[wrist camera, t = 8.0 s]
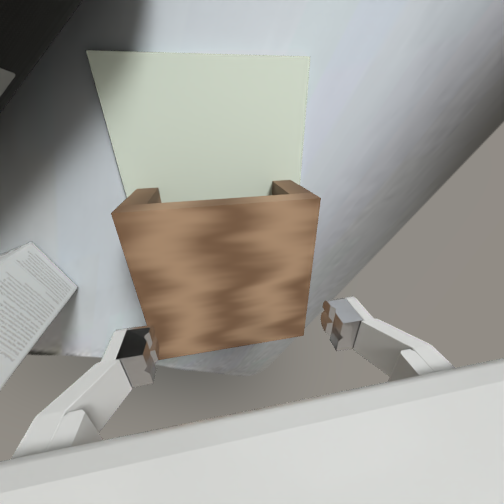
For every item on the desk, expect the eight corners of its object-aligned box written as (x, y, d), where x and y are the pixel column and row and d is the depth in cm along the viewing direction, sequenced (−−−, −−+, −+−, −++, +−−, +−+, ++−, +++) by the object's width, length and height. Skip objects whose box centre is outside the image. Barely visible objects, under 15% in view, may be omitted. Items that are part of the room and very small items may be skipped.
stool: (320, 198, 17) (303, 335, 23) (290, 179, 22) (283, 294, 29) (110, 213, 14) (158, 359, 21) (136, 188, 20) (167, 310, 27)
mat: (307, 58, 19) (310, 56, 18) (288, 307, 31) (289, 309, 31) (89, 52, 16) (85, 50, 16) (163, 325, 28) (163, 328, 28)
